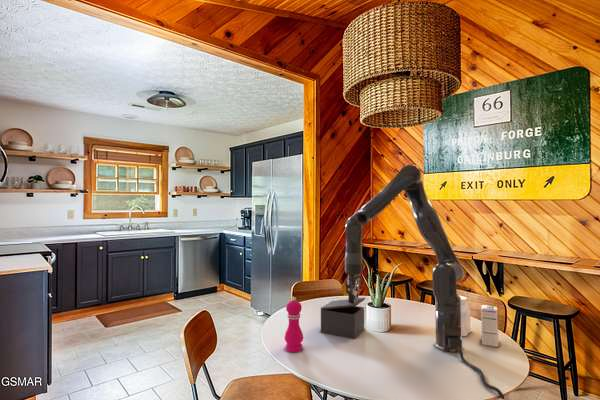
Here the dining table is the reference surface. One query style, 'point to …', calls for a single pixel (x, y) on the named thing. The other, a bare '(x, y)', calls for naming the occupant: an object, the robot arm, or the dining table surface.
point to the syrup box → (489, 325)
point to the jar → (465, 317)
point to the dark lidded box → (343, 321)
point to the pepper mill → (293, 327)
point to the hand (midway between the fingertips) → (353, 300)
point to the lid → (343, 303)
